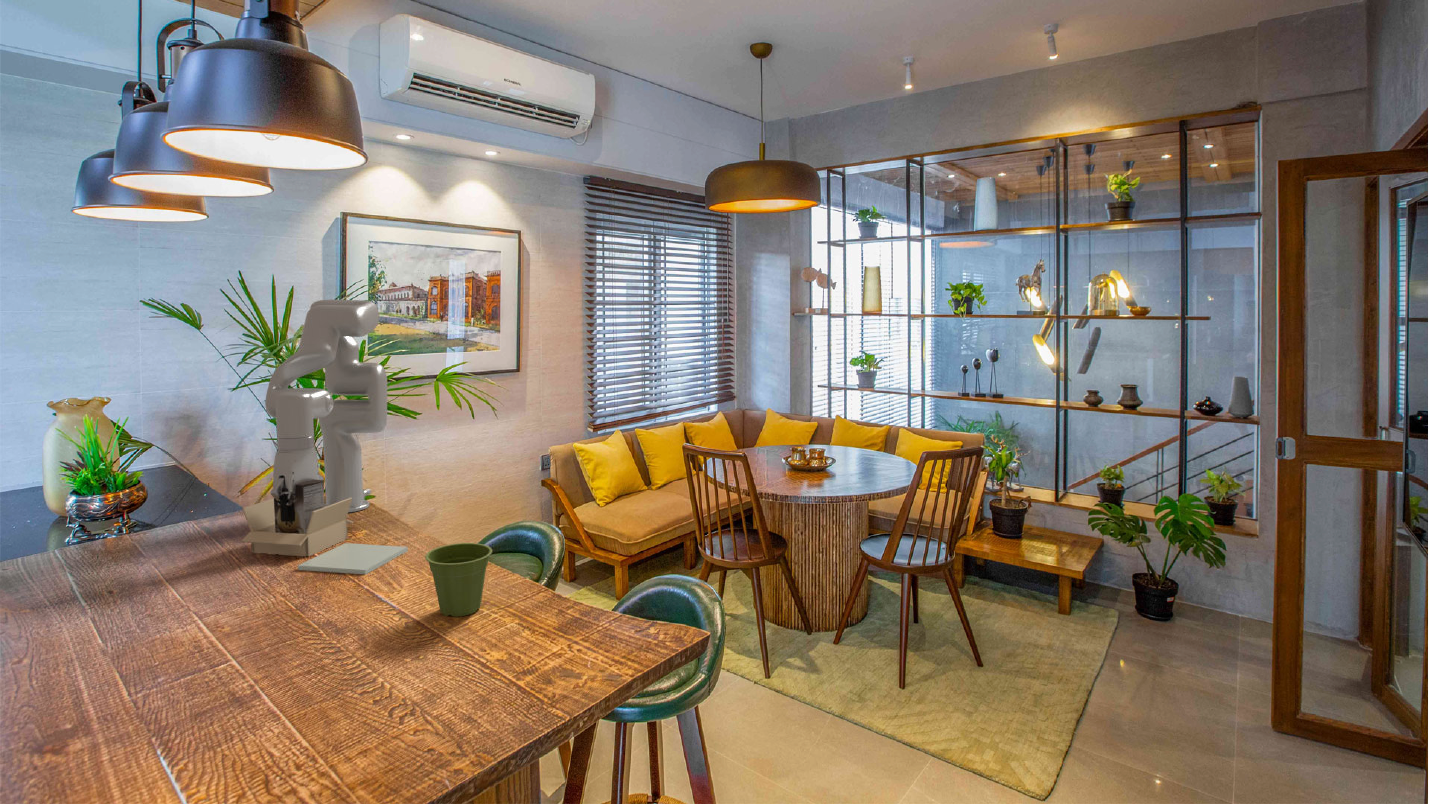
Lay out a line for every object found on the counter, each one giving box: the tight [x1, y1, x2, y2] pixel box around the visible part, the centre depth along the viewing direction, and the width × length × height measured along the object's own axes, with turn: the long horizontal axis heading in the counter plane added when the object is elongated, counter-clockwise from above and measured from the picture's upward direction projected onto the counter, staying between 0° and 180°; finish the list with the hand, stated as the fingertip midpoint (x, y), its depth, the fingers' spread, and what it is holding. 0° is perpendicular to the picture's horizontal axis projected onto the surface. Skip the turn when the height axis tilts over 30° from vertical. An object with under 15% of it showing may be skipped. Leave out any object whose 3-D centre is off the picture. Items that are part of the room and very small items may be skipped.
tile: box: [297, 542, 409, 576], centre depth 158 cm, size 16×16×1 cm
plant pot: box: [424, 542, 493, 618], centre depth 131 cm, size 12×12×11 cm
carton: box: [241, 497, 354, 557], centre depth 167 cm, size 19×18×11 cm
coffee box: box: [273, 479, 325, 534], centre depth 167 cm, size 9×6×16 cm
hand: (299, 516), depth 167 cm, fingers closed on coffee box, 7 cm apart
